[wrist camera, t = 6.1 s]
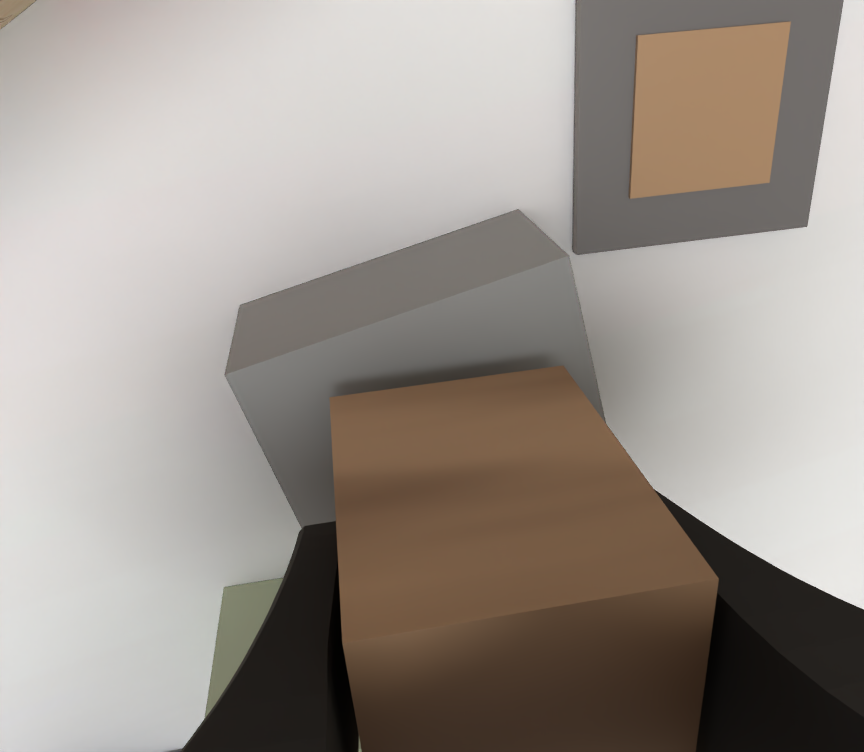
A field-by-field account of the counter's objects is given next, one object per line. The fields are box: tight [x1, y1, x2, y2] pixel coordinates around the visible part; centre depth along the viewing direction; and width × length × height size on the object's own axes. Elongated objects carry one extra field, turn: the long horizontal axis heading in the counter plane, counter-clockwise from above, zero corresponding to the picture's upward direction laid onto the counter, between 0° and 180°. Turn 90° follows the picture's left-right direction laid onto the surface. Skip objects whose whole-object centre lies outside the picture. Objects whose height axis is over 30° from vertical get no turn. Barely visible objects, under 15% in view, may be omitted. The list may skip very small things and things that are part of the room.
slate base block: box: [225, 209, 606, 528], centre depth 17 cm, size 7×7×4 cm
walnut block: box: [329, 366, 719, 752], centre depth 12 cm, size 4×4×6 cm
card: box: [573, 0, 843, 255], centre depth 17 cm, size 6×6×1 cm
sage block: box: [205, 578, 362, 752], centre depth 20 cm, size 4×4×6 cm
